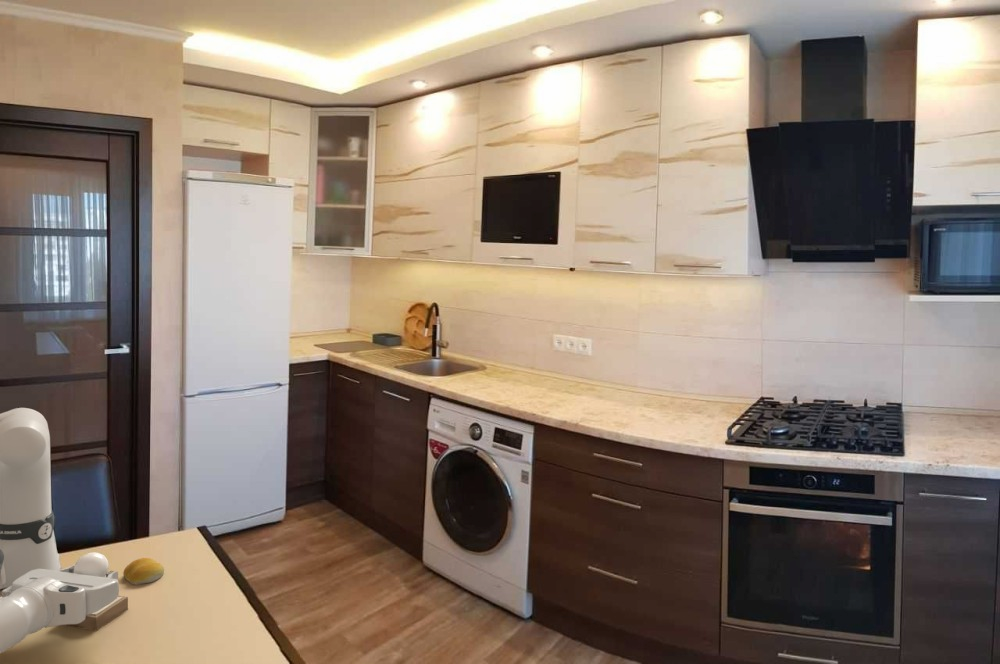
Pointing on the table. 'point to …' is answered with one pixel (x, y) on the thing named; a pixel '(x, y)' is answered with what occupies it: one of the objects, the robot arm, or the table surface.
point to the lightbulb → (92, 565)
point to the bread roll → (143, 571)
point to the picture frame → (103, 615)
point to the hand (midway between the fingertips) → (95, 571)
